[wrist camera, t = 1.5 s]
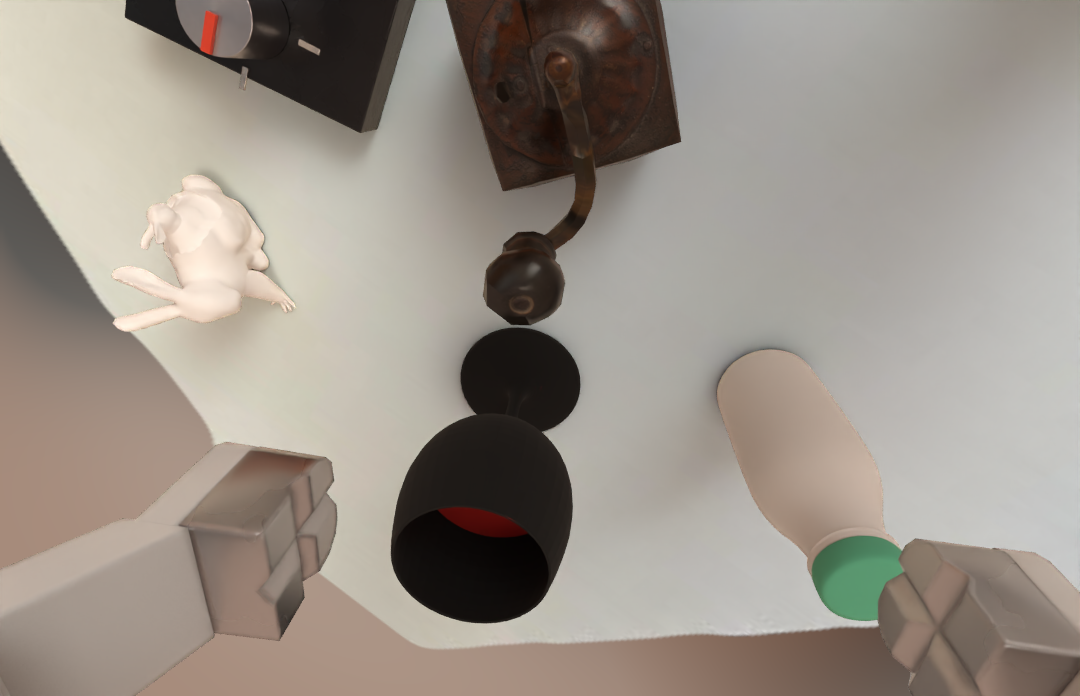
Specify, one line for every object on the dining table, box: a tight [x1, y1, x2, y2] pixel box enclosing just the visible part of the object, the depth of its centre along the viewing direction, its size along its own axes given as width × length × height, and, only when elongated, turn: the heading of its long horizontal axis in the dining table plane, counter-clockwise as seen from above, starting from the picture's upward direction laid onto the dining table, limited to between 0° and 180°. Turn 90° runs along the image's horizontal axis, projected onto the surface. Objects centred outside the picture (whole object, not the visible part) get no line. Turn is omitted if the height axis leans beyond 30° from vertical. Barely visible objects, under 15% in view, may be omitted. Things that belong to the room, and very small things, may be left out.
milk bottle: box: [717, 349, 903, 621], centre depth 36 cm, size 8×8×20 cm
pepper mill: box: [446, 0, 681, 325], centre depth 29 cm, size 16×11×18 cm
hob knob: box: [176, 0, 289, 60], centre depth 32 cm, size 4×4×4 cm
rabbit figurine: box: [111, 175, 296, 332], centre depth 40 cm, size 12×8×10 cm, turn 12°
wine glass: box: [391, 328, 580, 623], centre depth 38 cm, size 10×10×20 cm
